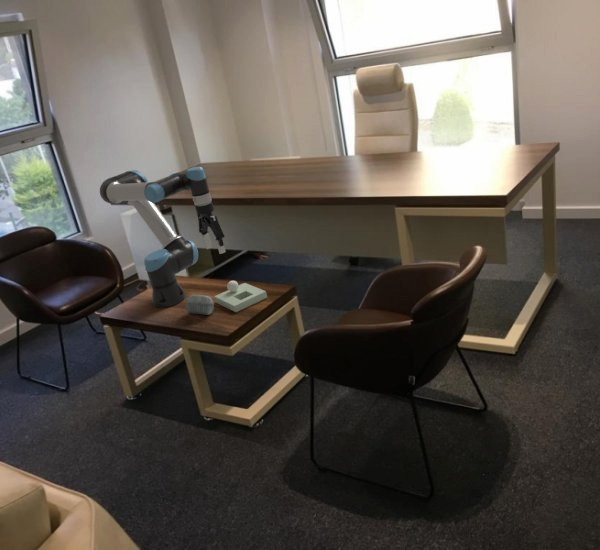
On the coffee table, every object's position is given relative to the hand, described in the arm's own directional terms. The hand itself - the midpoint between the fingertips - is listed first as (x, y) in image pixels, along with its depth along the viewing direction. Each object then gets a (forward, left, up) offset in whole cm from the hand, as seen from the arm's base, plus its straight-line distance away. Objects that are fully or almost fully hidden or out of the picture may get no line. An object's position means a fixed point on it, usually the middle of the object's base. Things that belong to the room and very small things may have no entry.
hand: (215, 250), depth 261 cm
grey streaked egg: (+7, -17, -22) cm, 28 cm away
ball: (+7, 0, -16) cm, 17 cm away
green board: (+12, 0, -21) cm, 25 cm away
